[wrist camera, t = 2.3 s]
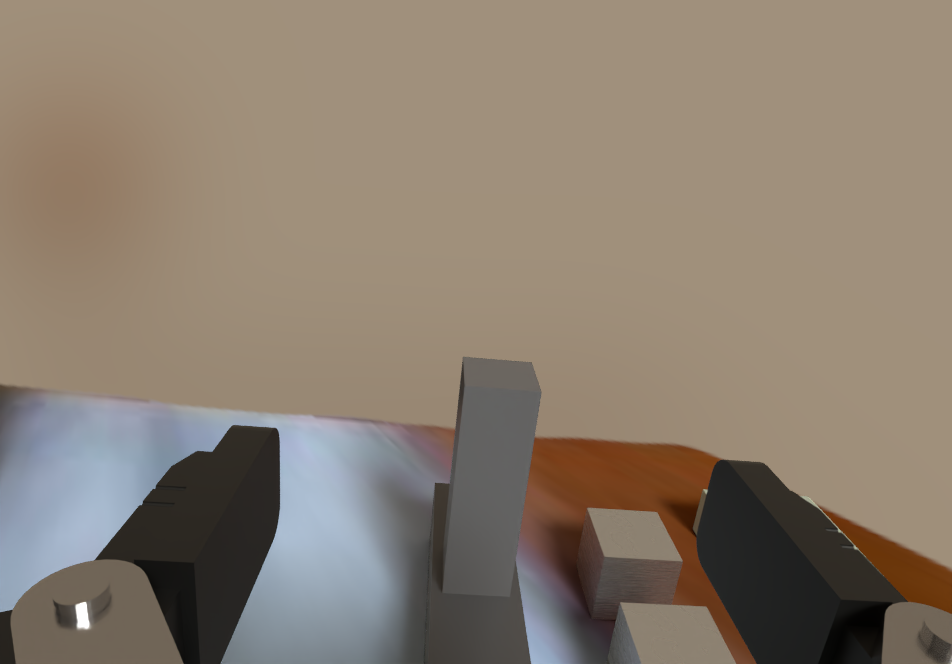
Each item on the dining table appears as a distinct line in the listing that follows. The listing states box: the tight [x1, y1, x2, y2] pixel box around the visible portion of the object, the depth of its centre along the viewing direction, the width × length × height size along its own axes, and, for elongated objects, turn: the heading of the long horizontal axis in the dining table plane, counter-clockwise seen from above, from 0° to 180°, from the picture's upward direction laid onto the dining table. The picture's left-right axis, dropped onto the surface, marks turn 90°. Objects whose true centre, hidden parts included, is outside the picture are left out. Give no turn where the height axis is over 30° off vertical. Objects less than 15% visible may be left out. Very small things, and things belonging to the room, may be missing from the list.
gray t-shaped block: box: [424, 357, 541, 664], centre depth 27 cm, size 4×14×14 cm, turn 2°
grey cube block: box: [576, 508, 683, 620], centre depth 33 cm, size 4×4×4 cm
